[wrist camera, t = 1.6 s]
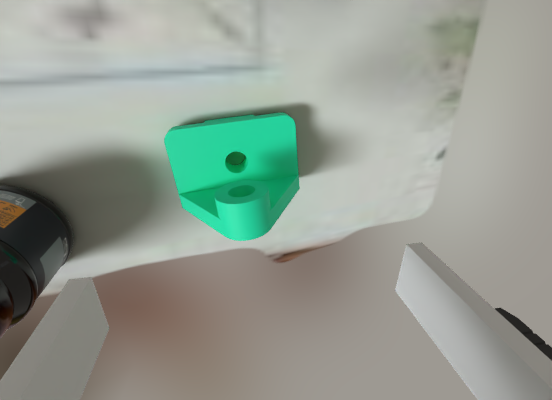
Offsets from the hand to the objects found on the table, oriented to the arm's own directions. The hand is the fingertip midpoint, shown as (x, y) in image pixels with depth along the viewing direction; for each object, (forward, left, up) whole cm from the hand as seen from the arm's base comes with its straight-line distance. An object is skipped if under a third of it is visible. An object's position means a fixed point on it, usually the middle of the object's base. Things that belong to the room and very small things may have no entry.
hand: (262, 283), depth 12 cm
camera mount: (0, 0, -20) cm, 20 cm away
